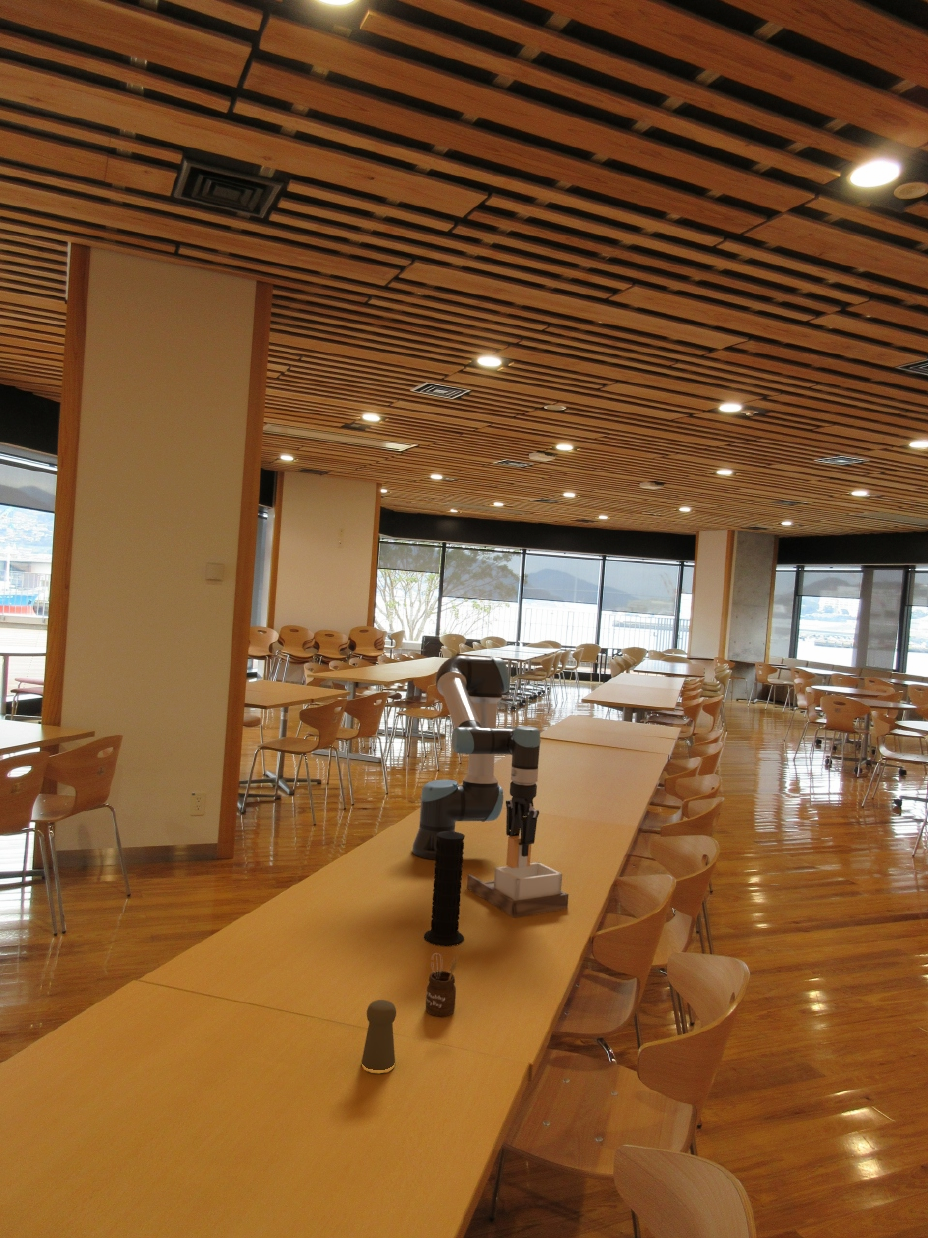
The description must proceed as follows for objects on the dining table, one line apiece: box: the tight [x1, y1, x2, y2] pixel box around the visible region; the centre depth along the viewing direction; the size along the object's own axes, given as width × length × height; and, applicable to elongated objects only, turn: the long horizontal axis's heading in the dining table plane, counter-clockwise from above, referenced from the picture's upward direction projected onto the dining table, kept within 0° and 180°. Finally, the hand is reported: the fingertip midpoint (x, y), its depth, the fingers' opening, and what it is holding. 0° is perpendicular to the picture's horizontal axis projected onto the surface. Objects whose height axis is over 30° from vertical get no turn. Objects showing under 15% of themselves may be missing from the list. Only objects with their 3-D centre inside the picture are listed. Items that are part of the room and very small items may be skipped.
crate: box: [493, 834, 563, 901], centre depth 238 cm, size 12×15×16 cm
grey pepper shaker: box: [361, 999, 397, 1070], centre depth 152 cm, size 6×6×11 cm
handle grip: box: [423, 831, 466, 947], centre depth 210 cm, size 10×26×10 cm
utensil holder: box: [425, 952, 460, 1018], centre depth 173 cm, size 6×6×12 cm
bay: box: [466, 873, 569, 918], centre depth 242 cm, size 24×18×4 cm
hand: (518, 864), depth 242 cm, fingers closed on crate, 3 cm apart
